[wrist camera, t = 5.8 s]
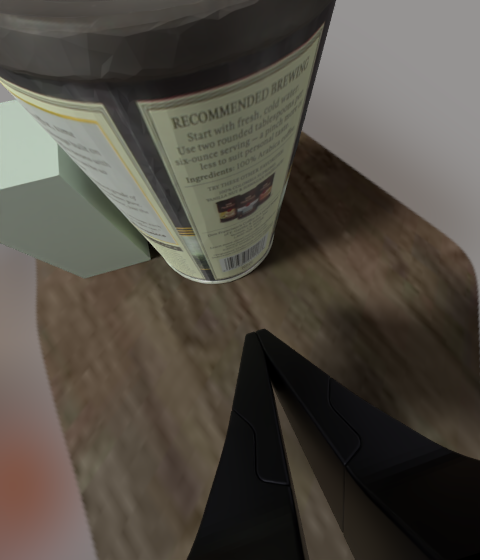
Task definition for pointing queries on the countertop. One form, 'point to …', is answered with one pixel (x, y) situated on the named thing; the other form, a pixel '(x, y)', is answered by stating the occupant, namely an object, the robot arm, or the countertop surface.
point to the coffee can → (174, 111)
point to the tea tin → (58, 204)
